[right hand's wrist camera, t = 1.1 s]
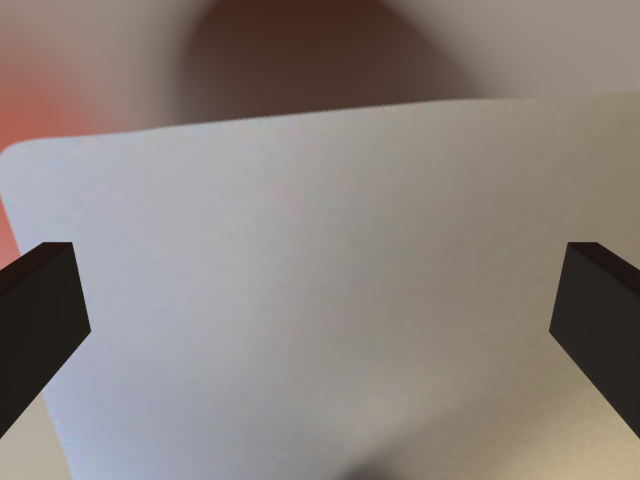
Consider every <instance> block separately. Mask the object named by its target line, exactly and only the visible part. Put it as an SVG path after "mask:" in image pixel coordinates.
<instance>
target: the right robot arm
mask: <svg viewBox="0 0 640 480" xmlns="http://www.w3.org/2000/svg"><path fill="white" fill-rule="evenodd" d="M90 332H91V328H90V324H89V319H88V314H87V310H86V305H85V300H84V295H83V291H82V286H81V281H80V277H79V272H78V267H77V263H76V258H75V253H74V249H73V244H72V242H43V243H41V244H40V245H38V246H37V247H35V248H34V249H32V250H31V251H29V252H28V253H26V254H24V255H23V256H21V257H20V258H18V259H17V260H15V261H14V262H12V263H11V264H9V265H8V266H6V267H5V268H3V269H2V270H0V439H1V437H2V436H3V435H4V434H5V433H6V432H7V430H8V429H9V428H10V427H11V426H12V425H13V423H14V422H15V421H16V420H17V419H18V417H19V416H20V415H21V414H22V413H23V412H24V410H25V409H26V408H27V407H28V406H29V404H30V403H31V402H32V401H33V400H34V399H35V397H36V396H37V395H38V394H39V393H40V391H41V390H42V389H43V388H44V387H45V386H46V384H47V383H48V382H49V381H50V380H51V378H52V377H53V376H54V375H55V374H56V373H57V371H58V370H59V369H60V368H61V367H62V365H63V364H64V363H65V362H66V361H67V360H68V358H69V357H70V356H71V355H72V354H73V352H74V351H75V350H76V349H77V348H78V347H79V345H80V344H81V343H82V342H83V341H84V339H85V338H86V337H87V336H88V335H89V334H90ZM549 332H550V334H551V335H552V336H553V337H554V338H555V339H556V341H557V342H558V343H559V344H560V345H561V347H562V348H563V349H564V350H565V351H566V352H567V354H568V355H569V356H570V357H571V358H572V360H573V361H574V362H575V363H576V364H577V365H578V367H579V368H580V369H581V370H582V371H583V373H584V374H585V375H586V376H587V377H588V378H589V380H590V381H591V382H592V383H593V384H594V386H595V387H596V388H597V389H598V390H599V391H600V393H601V394H602V395H603V396H604V397H605V399H606V400H607V401H608V402H609V403H610V404H611V406H612V407H613V408H614V409H615V410H616V412H617V413H618V414H619V415H620V416H621V417H622V419H623V420H624V421H625V422H626V423H627V425H628V426H629V427H630V428H631V429H632V430H633V432H634V433H635V434H636V435H637V436H638V438H639V439H640V270H638V269H637V268H635V267H634V266H632V265H631V264H629V263H628V262H626V261H625V260H623V259H622V258H620V257H619V256H617V255H616V254H614V253H612V252H611V251H609V250H608V249H606V248H605V247H603V246H602V245H600V244H599V243H597V242H568V244H567V249H566V253H565V258H564V263H563V267H562V272H561V277H560V281H559V286H558V291H557V295H556V300H555V305H554V310H553V314H552V319H551V324H550V328H549Z"/></svg>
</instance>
